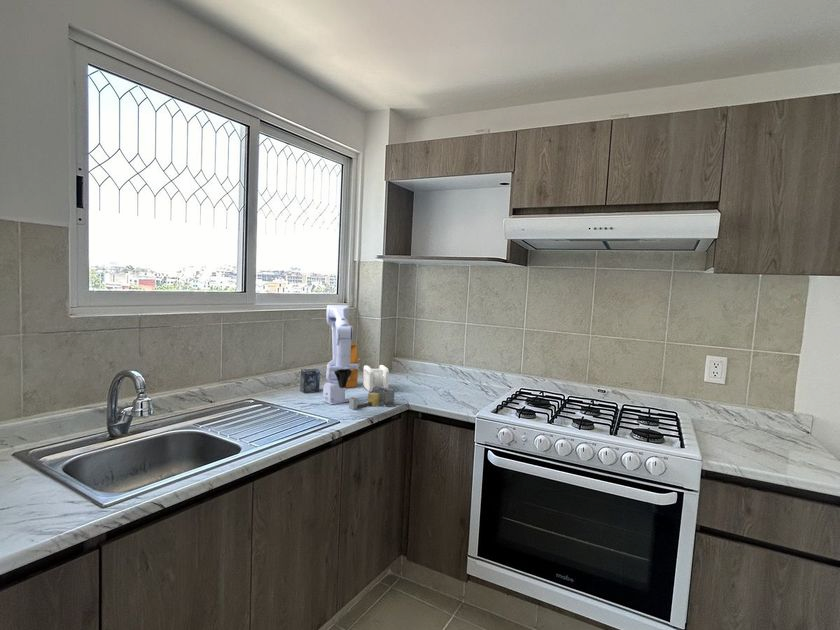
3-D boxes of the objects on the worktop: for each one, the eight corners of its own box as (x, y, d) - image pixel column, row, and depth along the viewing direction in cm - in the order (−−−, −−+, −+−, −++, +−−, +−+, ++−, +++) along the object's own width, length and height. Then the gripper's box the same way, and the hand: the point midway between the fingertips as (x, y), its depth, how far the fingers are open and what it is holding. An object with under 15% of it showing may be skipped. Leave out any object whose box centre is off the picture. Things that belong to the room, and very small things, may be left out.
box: (303, 393, 212) (304, 371, 211) (299, 390, 216) (300, 369, 216) (319, 391, 216) (320, 370, 216) (315, 389, 221) (315, 368, 220)
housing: (388, 407, 195) (389, 392, 195) (369, 400, 205) (370, 386, 205) (397, 405, 199) (398, 391, 198) (378, 398, 209) (378, 385, 208)
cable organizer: (388, 392, 221) (389, 369, 220) (367, 393, 218) (368, 370, 217) (381, 385, 235) (382, 364, 234) (361, 386, 232) (362, 364, 231)
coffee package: (329, 384, 232) (331, 342, 230) (352, 383, 238) (354, 342, 236) (335, 389, 223) (337, 345, 221) (359, 387, 229) (360, 345, 227)
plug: (353, 410, 189) (354, 398, 188) (348, 408, 191) (349, 396, 191) (379, 404, 198) (380, 393, 198) (374, 403, 201) (375, 392, 201)
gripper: (333, 357, 177) (332, 391, 178) (363, 355, 187) (362, 387, 188) (324, 355, 182) (323, 388, 183) (353, 352, 192) (352, 383, 193)
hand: (342, 387), depth 186 cm, fingers closed
